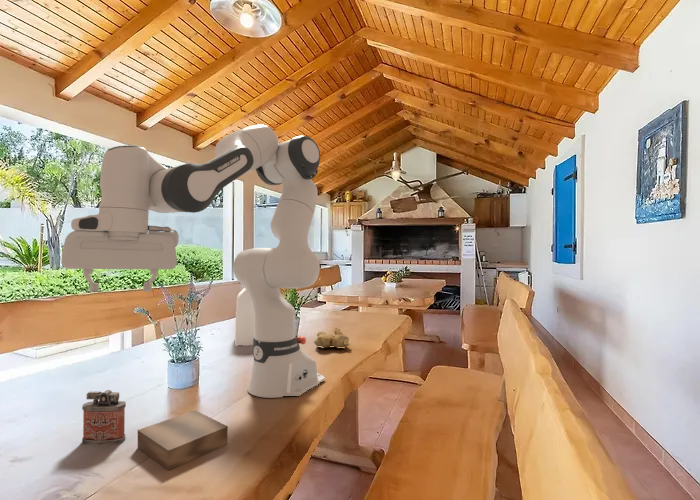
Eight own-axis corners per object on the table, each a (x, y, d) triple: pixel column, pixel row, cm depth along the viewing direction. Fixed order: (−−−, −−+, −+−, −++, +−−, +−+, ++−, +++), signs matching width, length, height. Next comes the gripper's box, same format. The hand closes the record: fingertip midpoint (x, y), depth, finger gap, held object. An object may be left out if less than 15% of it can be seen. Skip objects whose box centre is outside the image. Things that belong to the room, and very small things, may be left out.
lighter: (128, 436, 80) (129, 388, 80) (119, 445, 77) (120, 394, 77) (88, 436, 80) (89, 388, 80) (77, 445, 77) (78, 394, 77)
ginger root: (346, 351, 143) (341, 329, 144) (307, 357, 148) (303, 336, 149) (358, 343, 158) (354, 323, 159) (323, 349, 163) (319, 329, 164)
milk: (234, 338, 165) (235, 277, 165) (262, 337, 169) (263, 277, 169) (235, 345, 154) (235, 279, 154) (265, 344, 157) (265, 279, 157)
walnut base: (195, 426, 85) (195, 410, 85) (227, 443, 78) (227, 426, 78) (137, 447, 76) (137, 430, 76) (168, 470, 69) (168, 450, 69)
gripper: (177, 227, 88) (174, 289, 88) (65, 221, 78) (62, 291, 78) (180, 226, 83) (178, 291, 83) (61, 219, 73) (58, 294, 72)
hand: (121, 291), depth 80 cm, fingers open, 8 cm apart
